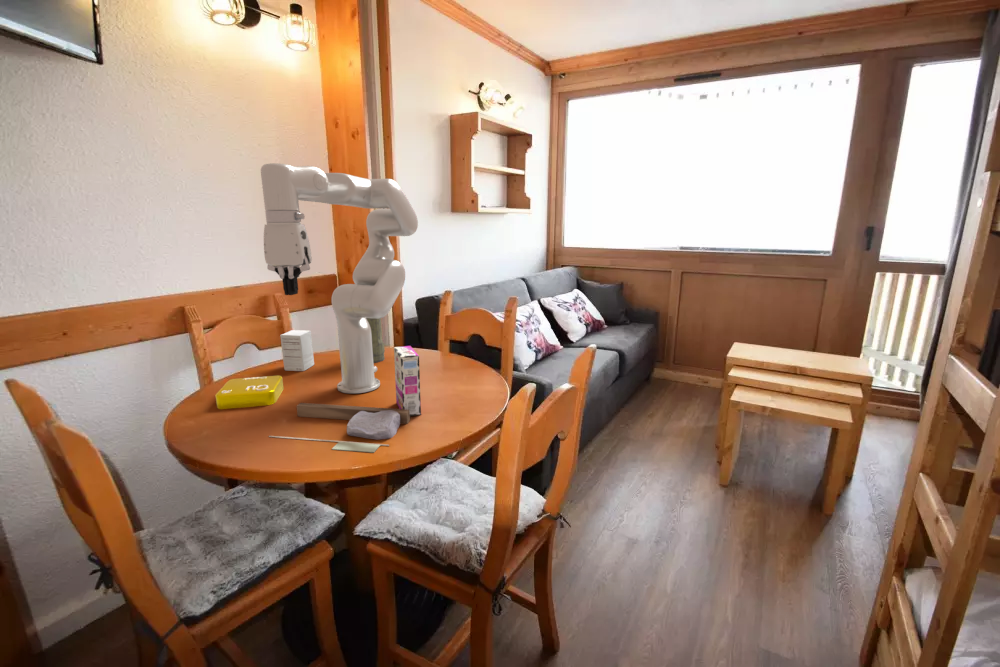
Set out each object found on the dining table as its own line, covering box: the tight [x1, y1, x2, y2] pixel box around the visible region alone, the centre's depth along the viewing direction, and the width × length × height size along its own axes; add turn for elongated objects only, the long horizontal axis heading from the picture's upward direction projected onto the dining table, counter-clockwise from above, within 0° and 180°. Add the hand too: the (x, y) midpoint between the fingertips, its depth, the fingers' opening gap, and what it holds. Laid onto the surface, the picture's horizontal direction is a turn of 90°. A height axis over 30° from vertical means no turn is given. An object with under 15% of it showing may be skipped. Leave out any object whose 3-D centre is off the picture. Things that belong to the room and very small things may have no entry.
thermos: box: [366, 318, 386, 364], centre depth 170 cm, size 9×12×35 cm
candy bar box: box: [393, 345, 422, 417], centre depth 128 cm, size 11×5×16 cm, turn 22°
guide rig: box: [268, 402, 411, 454], centre depth 116 cm, size 18×30×3 cm, turn 81°
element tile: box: [214, 375, 284, 410], centre depth 138 cm, size 15×15×5 cm
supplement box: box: [279, 329, 315, 372], centre depth 164 cm, size 7×7×13 cm
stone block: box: [346, 410, 401, 441], centre depth 116 cm, size 12×5×10 cm
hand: (291, 294), depth 119 cm, fingers closed
